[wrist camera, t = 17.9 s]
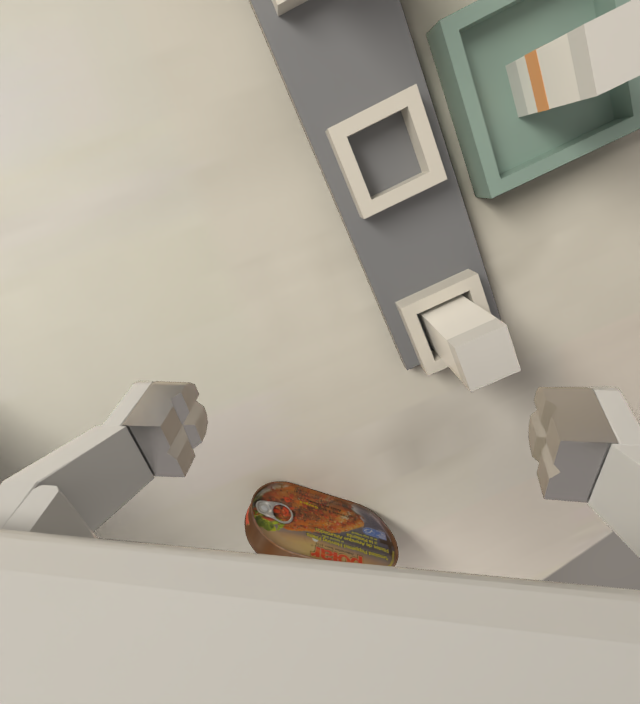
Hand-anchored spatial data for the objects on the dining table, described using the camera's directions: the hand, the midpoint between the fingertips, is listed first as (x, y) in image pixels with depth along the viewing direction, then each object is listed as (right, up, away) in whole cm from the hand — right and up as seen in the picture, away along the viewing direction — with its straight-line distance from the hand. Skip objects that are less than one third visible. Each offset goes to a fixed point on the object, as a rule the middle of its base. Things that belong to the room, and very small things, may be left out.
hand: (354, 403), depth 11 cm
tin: (-1, -14, +35) cm, 38 cm away
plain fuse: (+10, +4, +27) cm, 29 cm away
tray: (+15, +21, +22) cm, 34 cm away
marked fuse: (+15, +21, +21) cm, 33 cm away
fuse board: (+4, +16, +23) cm, 29 cm away
